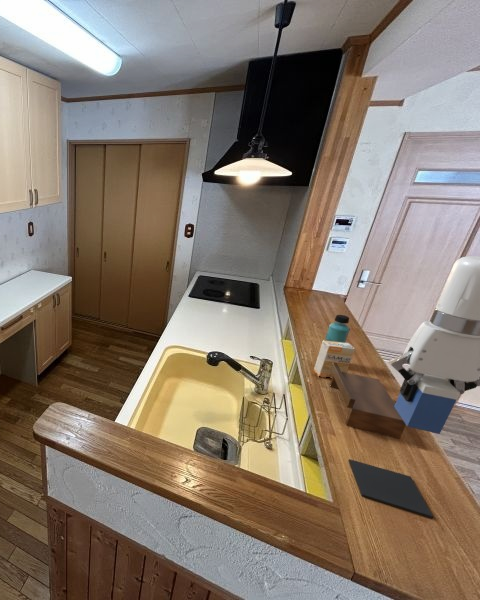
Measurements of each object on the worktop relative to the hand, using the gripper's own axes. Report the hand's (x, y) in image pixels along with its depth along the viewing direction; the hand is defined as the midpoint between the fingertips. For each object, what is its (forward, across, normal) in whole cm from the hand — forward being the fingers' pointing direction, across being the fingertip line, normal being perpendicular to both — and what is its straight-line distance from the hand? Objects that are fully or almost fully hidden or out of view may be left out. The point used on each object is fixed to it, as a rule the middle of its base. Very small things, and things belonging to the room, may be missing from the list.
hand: (424, 401), depth 67 cm
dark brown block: (+24, -3, -32) cm, 40 cm away
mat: (+24, 0, 0) cm, 24 cm away
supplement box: (+24, +2, -50) cm, 55 cm away
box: (+5, 0, 0) cm, 5 cm away
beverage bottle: (+24, 0, -61) cm, 65 cm away
